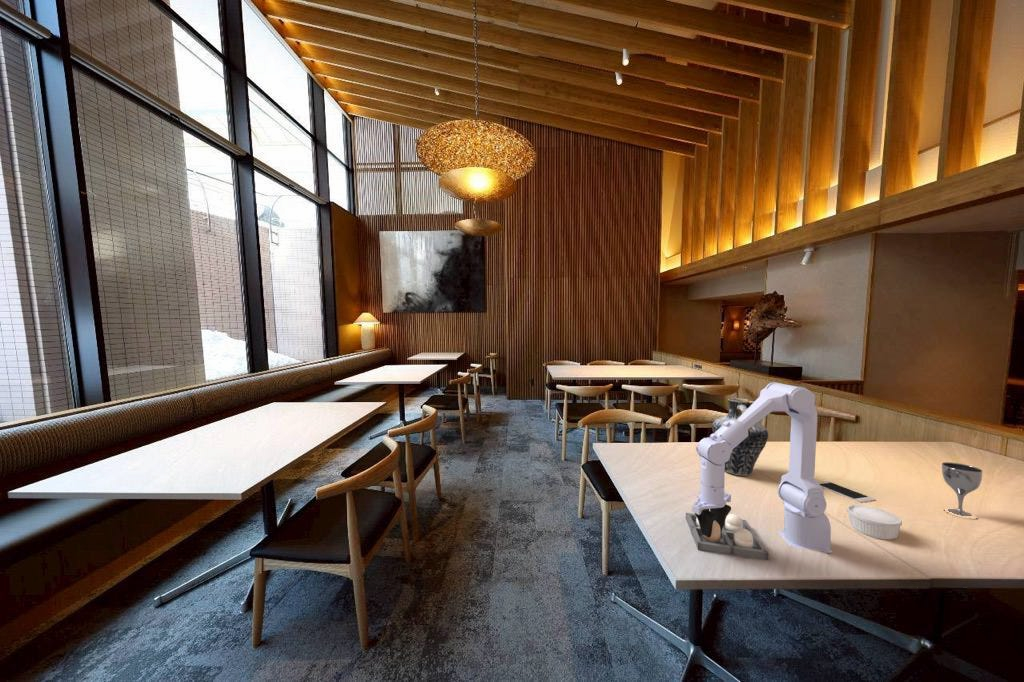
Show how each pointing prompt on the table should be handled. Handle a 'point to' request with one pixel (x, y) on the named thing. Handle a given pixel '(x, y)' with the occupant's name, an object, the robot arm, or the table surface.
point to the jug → (750, 447)
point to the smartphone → (845, 492)
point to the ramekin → (874, 522)
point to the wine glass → (961, 482)
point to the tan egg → (714, 533)
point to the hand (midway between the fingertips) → (711, 532)
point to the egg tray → (727, 541)
